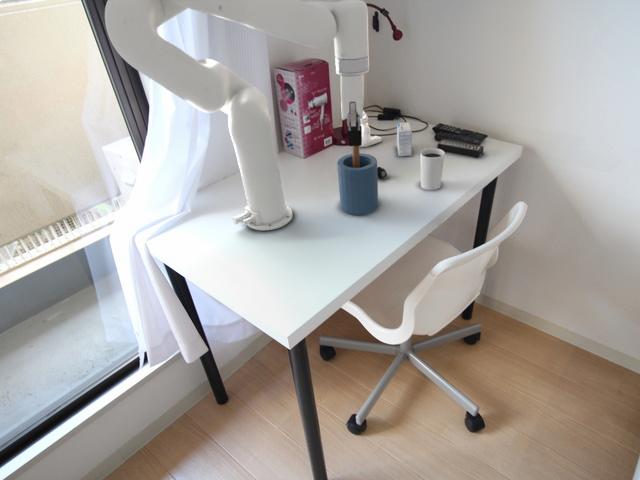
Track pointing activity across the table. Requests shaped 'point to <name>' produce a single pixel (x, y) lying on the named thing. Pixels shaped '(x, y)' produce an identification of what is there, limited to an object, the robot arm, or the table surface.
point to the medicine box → (404, 139)
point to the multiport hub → (461, 148)
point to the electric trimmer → (381, 173)
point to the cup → (358, 184)
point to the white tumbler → (431, 168)
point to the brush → (356, 156)
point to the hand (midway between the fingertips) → (355, 143)
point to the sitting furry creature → (367, 133)
